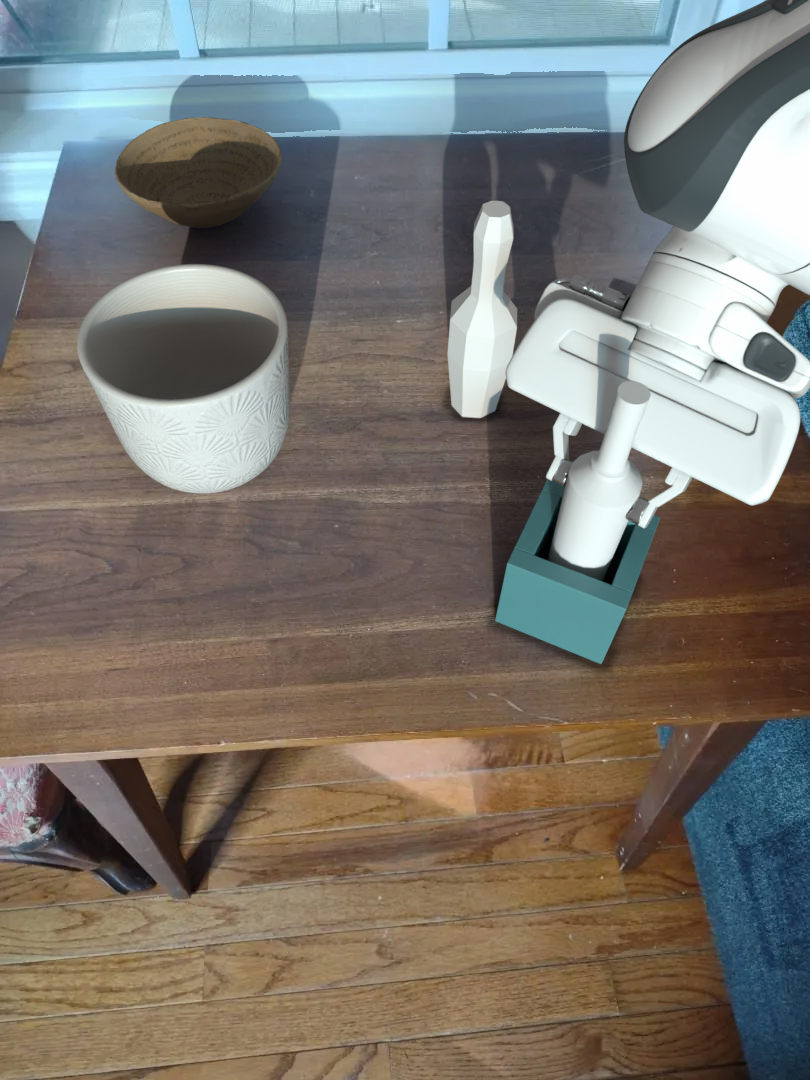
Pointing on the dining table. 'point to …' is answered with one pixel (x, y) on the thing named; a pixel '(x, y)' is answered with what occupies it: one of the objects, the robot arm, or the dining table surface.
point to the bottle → (601, 491)
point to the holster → (569, 585)
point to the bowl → (199, 169)
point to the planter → (191, 373)
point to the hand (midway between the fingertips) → (595, 503)
